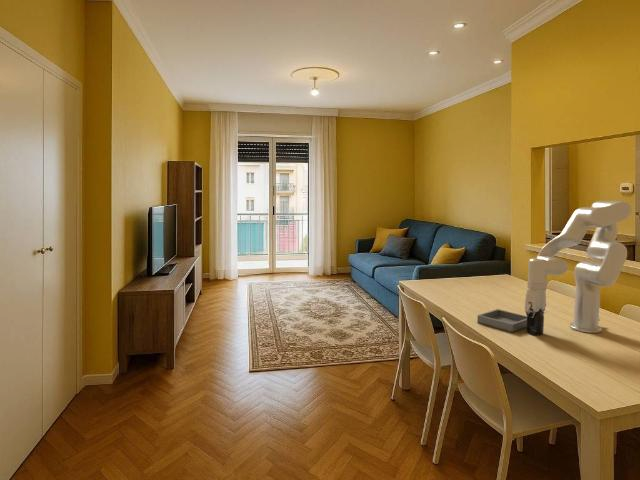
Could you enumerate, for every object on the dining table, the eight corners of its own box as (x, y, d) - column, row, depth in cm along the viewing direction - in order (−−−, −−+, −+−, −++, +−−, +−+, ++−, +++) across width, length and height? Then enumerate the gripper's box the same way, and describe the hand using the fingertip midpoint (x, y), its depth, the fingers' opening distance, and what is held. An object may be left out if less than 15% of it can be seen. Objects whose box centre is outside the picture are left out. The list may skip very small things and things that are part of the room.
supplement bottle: (527, 329, 188) (528, 304, 186) (544, 332, 184) (545, 306, 182) (525, 333, 182) (526, 308, 181) (542, 336, 178) (543, 310, 177)
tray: (497, 316, 208) (497, 308, 207) (532, 325, 193) (532, 317, 193) (477, 323, 198) (477, 315, 198) (512, 333, 183) (512, 324, 183)
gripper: (538, 281, 188) (536, 318, 190) (518, 287, 179) (516, 326, 181) (555, 284, 182) (553, 322, 184) (535, 290, 172) (533, 330, 175)
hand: (535, 323), depth 183 cm, fingers closed on supplement bottle, 6 cm apart
